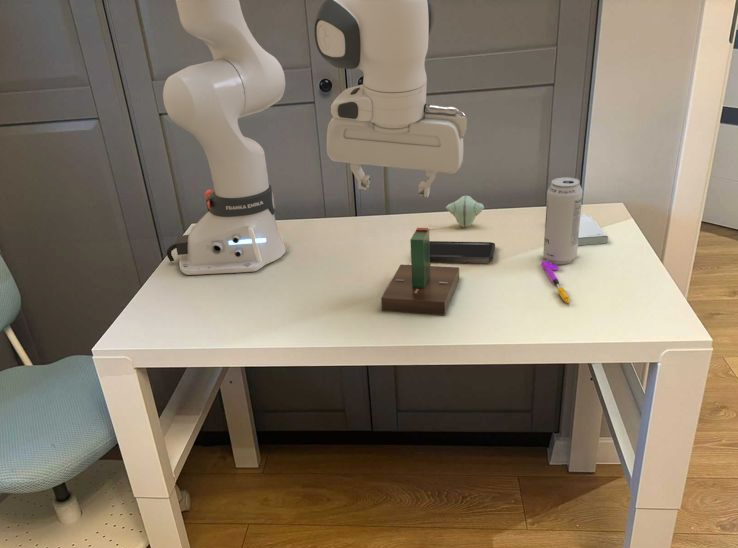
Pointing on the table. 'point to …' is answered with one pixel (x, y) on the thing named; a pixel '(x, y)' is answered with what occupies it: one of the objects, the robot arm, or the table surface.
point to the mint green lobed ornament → (465, 210)
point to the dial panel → (421, 291)
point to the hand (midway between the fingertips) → (393, 191)
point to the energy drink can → (562, 220)
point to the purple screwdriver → (555, 278)
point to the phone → (461, 252)
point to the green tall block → (420, 257)
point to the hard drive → (590, 231)
